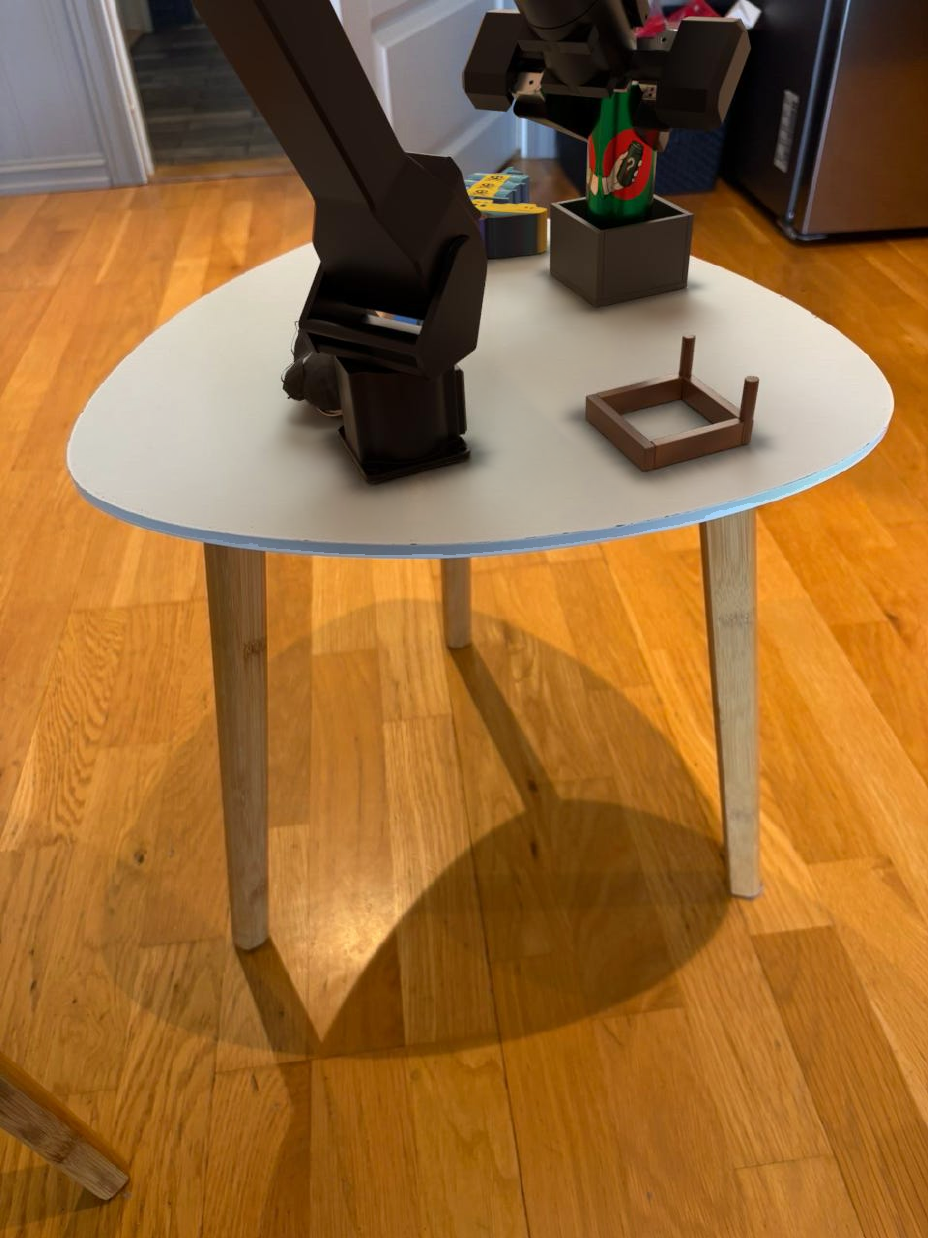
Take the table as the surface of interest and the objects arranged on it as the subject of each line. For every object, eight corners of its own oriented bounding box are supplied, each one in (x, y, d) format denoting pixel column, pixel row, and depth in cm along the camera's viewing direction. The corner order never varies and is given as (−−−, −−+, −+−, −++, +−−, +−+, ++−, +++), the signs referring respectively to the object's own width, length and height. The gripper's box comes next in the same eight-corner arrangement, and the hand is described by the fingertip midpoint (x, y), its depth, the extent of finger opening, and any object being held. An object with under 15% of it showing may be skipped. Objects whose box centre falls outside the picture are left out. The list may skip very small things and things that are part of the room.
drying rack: (643, 472, 54) (649, 408, 51) (584, 416, 59) (586, 356, 56) (752, 442, 55) (762, 379, 53) (684, 391, 61) (691, 331, 58)
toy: (363, 203, 83) (452, 159, 92) (368, 242, 85) (454, 195, 94) (520, 226, 76) (598, 176, 85) (520, 268, 78) (597, 214, 88)
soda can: (663, 237, 73) (679, 58, 65) (620, 254, 70) (631, 71, 63) (613, 223, 76) (622, 51, 68) (570, 240, 73) (575, 63, 66)
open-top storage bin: (595, 307, 72) (598, 233, 68) (549, 273, 77) (549, 203, 74) (687, 287, 74) (694, 214, 70) (635, 255, 79) (639, 186, 76)
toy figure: (312, 335, 71) (277, 424, 59) (309, 249, 67) (271, 326, 55) (406, 341, 71) (391, 432, 59) (409, 256, 67) (393, 335, 56)
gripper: (765, -152, 52) (794, 45, 66) (476, -140, 60) (557, 33, 74) (692, 40, 52) (737, 196, 66) (415, 26, 60) (507, 167, 74)
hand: (630, 142), depth 70 cm, fingers closed on soda can, 5 cm apart
